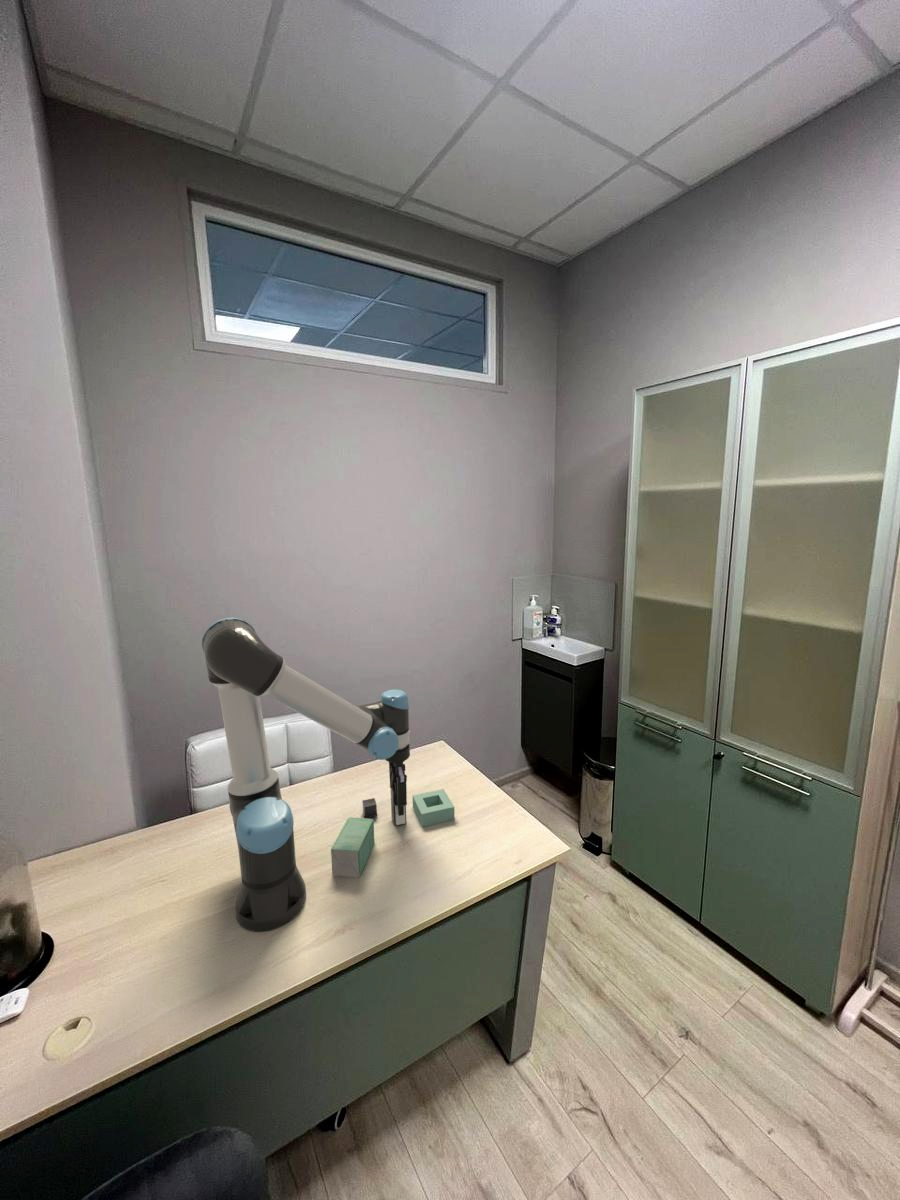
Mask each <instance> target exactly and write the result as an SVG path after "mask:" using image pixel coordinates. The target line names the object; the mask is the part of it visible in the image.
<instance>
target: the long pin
mask: <svg viewBox="0 0 900 1200" xmlns="http://www.w3.org/2000/svg"><path fill="white" fill-rule="evenodd" d="M389 788H390V805H391V807H390V809H391V820H392V822H393V825H394V826H395V825H396V816H395V806H394V804H393V803H396V795H395V786H390V785H389ZM405 823H407V805H405ZM396 826H397V825H396Z"/></svg>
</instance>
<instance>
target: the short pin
mask: <svg viewBox="0 0 900 1200" xmlns="http://www.w3.org/2000/svg"><path fill="white" fill-rule="evenodd" d="M361 802H362V813H363V818H367V819H370V818H373V817H377V816H378V811H377V810H378V807H377V802H376V798H374V797H372V798H369V799H362V801H361Z"/></svg>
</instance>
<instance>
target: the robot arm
mask: <svg viewBox="0 0 900 1200" xmlns="http://www.w3.org/2000/svg"><path fill="white" fill-rule="evenodd" d="M201 646H202V648H201V649H202V650H203V652H204V653H203V654H204V659H205V664H206V670H207V671H206V672H207V675H208V676H207V677H208V682H209V683H210V684H211V685H212V686H214V687H216V688H217V691H218V692H217V693H218V696H219V702H220V708H221V710H220V711H221V714H222V720H223V727H224V733H225V739H226V745H227V750H228V756H229V762H230V768H231V774H232V779H231V780H230V781H229V783H228V784H227V793H228V799H229V811H230V815H231V817H232V822H233V827H234V832H235V837H236V843H237V850H238V857H239V865H240V866H239V868H240V877H241V878H240V879H241V882H240V886H239V891H238V894H237V898H236V901H235V917H236V920H237V923H238V925H240V926H241V927H242V928H244V929H246V930H248V931H251V932H266V931H271V930H273V929H277V928H279V927H282V926H284V925H286V924H287V923H289V922H290V921H291V920H293V919H294V918H295V917H296V916H297V915H298V914H299V913H300V912H301V910H302V909H303V908H304V906H305V904H306V900H307V888H306V883H305V880H304V878H303V877H302V874H301V873H300V871H299V869H298V866H297V862H296V861H297V860H296V846H295V845H296V844H295V837H294V836H295V834H294V833H295V832H294V815H293V813H292V809H291V807H290V805H289V804H288V803H287V802H286V800H284V799H283V798H282V793H281V787H280V786H281V785H280V779H279V774H278V771H277V770H276V769H273V768H272V767H271V764H270V763H271V762H270V756H269V750H268V743H267V737H266V730H265V724H264V718H263V710H262V709H263V708H262V704H261V698H260V697H263V696H266V697H268V698H270V699H272V700H273V701H276V702H277V703H279V704H282V705H283V706H285V707H287V708H288V709H291V710H292V711H295V712H296V713H298V714H300V715H302V716H304V717H306V718H307V719H310V720H311V721H313V722H315V723H317V724H318V725H321V726H322V727H324V728H326V729H328V730H329V731H331V732H334V733H335V734H337V735H340V736H341V737H343V738H345V739H347V740H349V741H350V742H353V744H356V745H357V746H358V747H361V748H363V749H364V750H366V751H368V753H369V754H370V756H373V758H375V759H377V760H380V761H381V760H383V761H384V760H385V761H386V762H388V773H389V774H388V775H389V787H390V786H395V795H396V803H393V804H394V806H395V816H396V826H399V825H404V824H406V822H405V805H406V806H407V804H408V800H407V798H408V796H407V793H408V792H407V791H408V790H407V781H408V780H407V778H408V776H407V775H408V774H406V764H405V763H404V762H406V761H407V760H408V759H409V758H410V755H411V752H410V751H411V750H410V747H411V746H410V735H411V734H412V732H411V730H410V726H409V725H410V723H409V722H410V720H409V719H410V718H409V717H410V715H409V713H410V705H409V698H408V694H407V692H405V691H403V690H402V689H388V690H385V691H384V692H382V693H381V695H380V700H379V701H376V702H373V703H367V704H361V705H357V706H356V705H354V704H352V703H351V702H349V701H347V700H346V699H344V698H343V697H341V696H340V695H338V694H336V693H334V692H333V691H330V689H327V688H325V687H324V686H322V685H320V684H318V683H317V682H316V681H314V680H312V679H311V678H309V677H307V676H305V675H304V674H302V673H300V672H299V671H297V670H295V669H294V668H292V667H290V666H289V665H287V664H286V660H285V658H284V657H283V656H281V655H279V654H278V653H276V652H275V651H273V650H272V649H271V648H270V647H268V646H267V644H266V643H265V642H264V641H263V640H262V639H261V638H260V637H259V636H258V634H257V632H256V630H255V629H254V627H253V625H252V624H250V623H249V622H247V621H246V620H243V619H241V618H236V617H225V618H221V619H218V620H216V621H215V622H213V623H212V624H210V625H209V627H208V628H207V629H206V630H205V631H204V634H203V636H202V639H201Z"/></svg>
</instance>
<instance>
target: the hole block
mask: <svg viewBox="0 0 900 1200" xmlns="http://www.w3.org/2000/svg"><path fill="white" fill-rule="evenodd" d="M412 808H413V811H414V813H415V815H416V817H417V820H418V822H419V824H420V827H427V826H432V825H436V824H440V823H441V824H442V823H445V822H449V821H453V820H455V818H456V817H455V806H454V804H453V802H452V800H451V799H450V798H449V796H448V794H447V792H446V791H445V789H444V788H442V789H437V790H432V791H428V792H423V793H418V794H413V795H412Z"/></svg>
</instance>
